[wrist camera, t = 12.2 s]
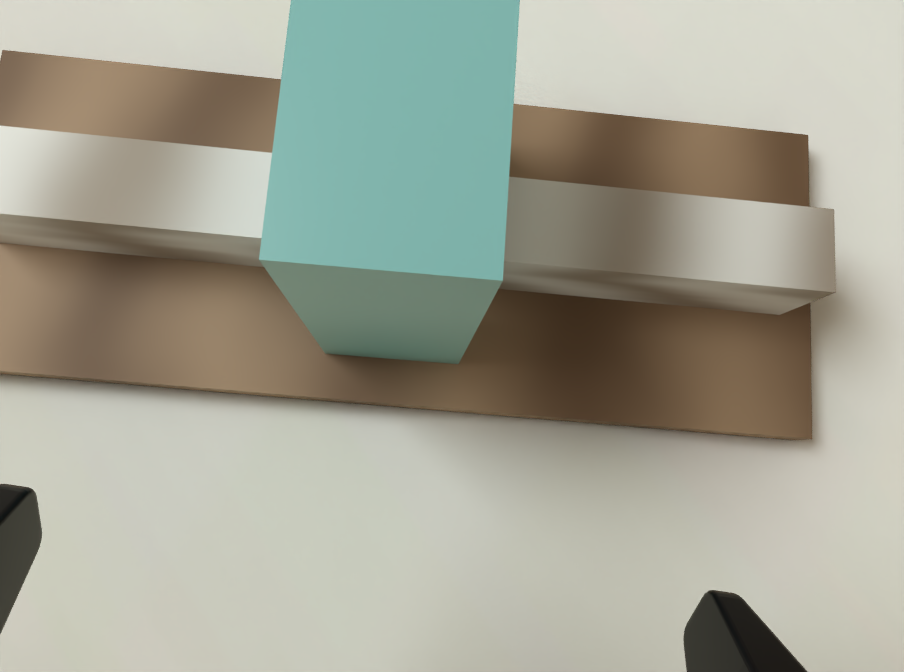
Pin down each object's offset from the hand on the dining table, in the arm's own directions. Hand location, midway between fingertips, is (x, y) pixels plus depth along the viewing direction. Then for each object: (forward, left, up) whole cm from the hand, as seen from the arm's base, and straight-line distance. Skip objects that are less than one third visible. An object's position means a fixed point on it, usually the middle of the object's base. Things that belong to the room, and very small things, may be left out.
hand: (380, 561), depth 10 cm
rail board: (+8, +2, -12) cm, 15 cm away
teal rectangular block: (+8, +2, -11) cm, 14 cm away
